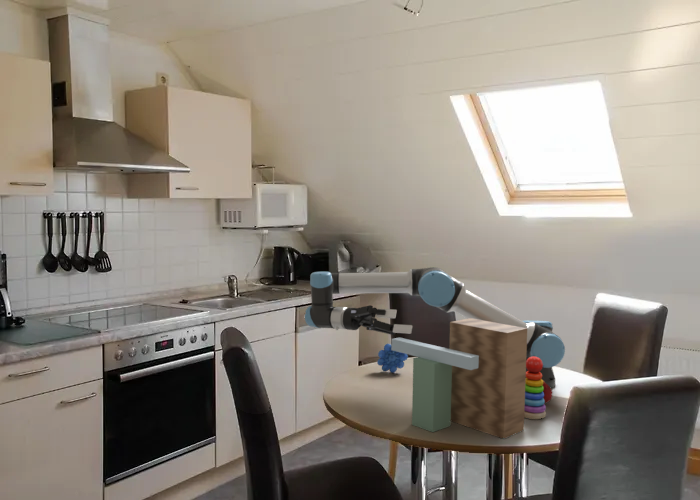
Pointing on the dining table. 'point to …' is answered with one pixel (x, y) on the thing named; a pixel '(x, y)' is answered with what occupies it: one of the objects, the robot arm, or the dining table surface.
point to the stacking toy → (534, 390)
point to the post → (431, 394)
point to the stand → (489, 377)
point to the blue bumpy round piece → (391, 359)
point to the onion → (547, 392)
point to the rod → (436, 353)
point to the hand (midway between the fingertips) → (403, 321)
